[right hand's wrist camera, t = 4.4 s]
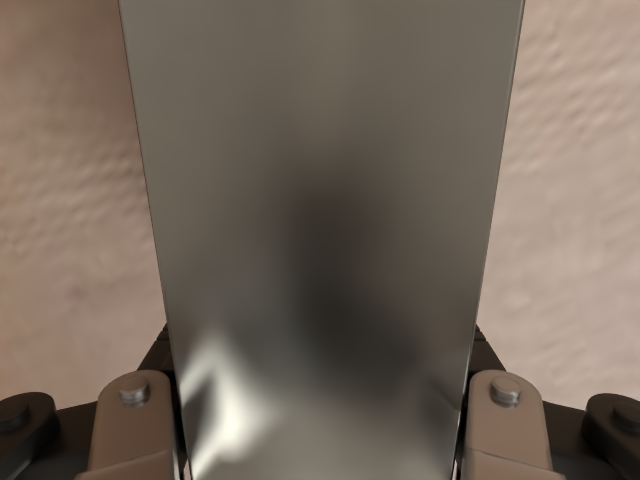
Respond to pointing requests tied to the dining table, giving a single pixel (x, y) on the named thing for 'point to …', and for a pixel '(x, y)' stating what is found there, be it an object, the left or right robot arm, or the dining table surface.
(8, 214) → the dining table surface
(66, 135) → the dining table surface
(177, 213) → the bar
